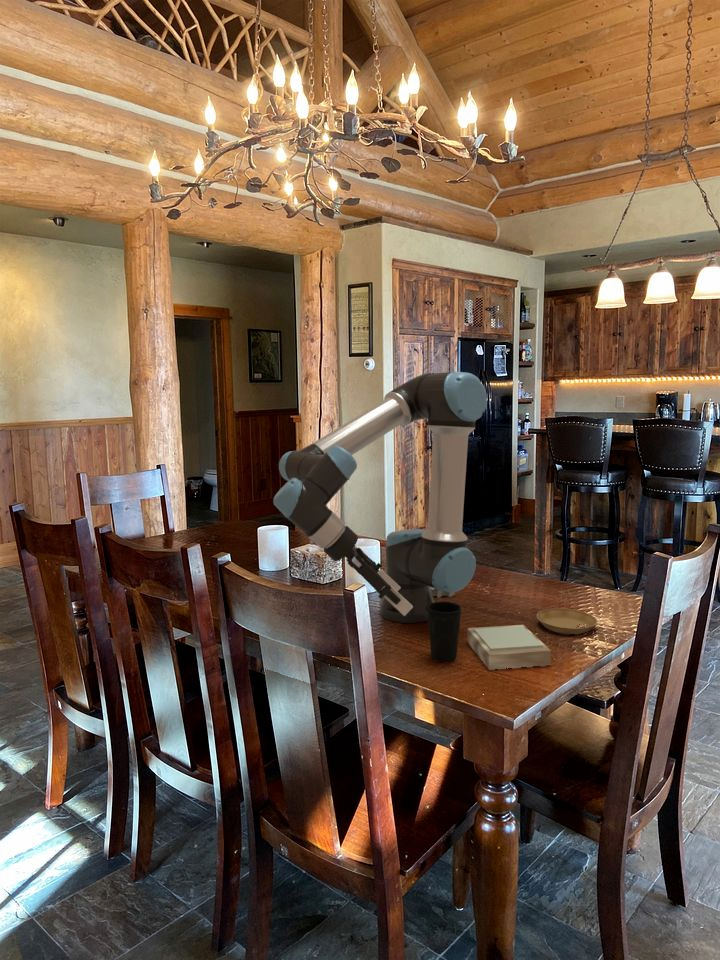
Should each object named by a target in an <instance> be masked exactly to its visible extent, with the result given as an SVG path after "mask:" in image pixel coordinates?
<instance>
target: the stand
mask: <svg viewBox="0 0 720 960" xmlns="http://www.w3.org/2000/svg"><path fill="white" fill-rule="evenodd" d="M466 638H467V641H466V642H467V644H468V645H469V646H470V647H471V649H472V650H473V651H474V652H475V654H476V655H477V657H478V658H479V659H480V661H481V662H482V661H483V662H482V663H483V664H484V666H485V667H486V669H488V670H489V671H496V670H495V669H498V670H509V669H508V668H512V669H522V668H521V667H527V668H534V667H533V666H541V667H544V666H543V665H551V663H552V662H551V661H552V660H551V659H552V650H551V649H550V648H549V647H548V646H547V645H546V644H545V643H544V642H542V641H541V640H540V639H539V638H538V637H537V636H536V635H535V634H534V633H533V632H531V631H530V630H529V629H528V628H527V626H526V625H524V624H516V625H499V626H483V627H468V628H467V637H466ZM506 668H507V669H506Z"/></svg>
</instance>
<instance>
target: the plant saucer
mask: <svg viewBox="0 0 720 960" xmlns="http://www.w3.org/2000/svg"><path fill="white" fill-rule="evenodd" d="M536 618H537V620H538V621H539V622H540V624H541V625H542V626H543V627H545V628H546V629H547V630H548V631H551V632H553V633H557V634H562V635H570V634H575V635H582V634H581V633H583V634H586V633H588V632H589V631H590V630H592V629H593V628H594V627H595V626H596V625H597V624H598V619H597V618H596V617H595V616H594V615H592V614H590V613H588V612H585V611H582V610H577V609H571V608H562V607H561V608H560V607H559V608H556V607H554V608H547V609H542V610H540V611H538V612H537V614H536ZM579 624H580V625H584V624H586V625H587V626H588V627H585V628H576V627H577V625H578V626H580V625H579ZM584 626H585V625H584ZM585 632H586V633H585Z"/></svg>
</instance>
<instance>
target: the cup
mask: <svg viewBox="0 0 720 960" xmlns="http://www.w3.org/2000/svg"><path fill="white" fill-rule="evenodd" d="M427 613H428V620H427V622H428V633H429V634H428V635H429V645H430V655H431V659H432V661H434V660H436V661H439V662H438V663H441V662H449V663H452V661H453V662H455V661H456V660H455V659H457V653H458V646H459V645H458V643H459V634H460V623H461V615H462V607H461V605H459V604H458V603H456V602H455V603H454V602H452V601H451V602H450V601H436V602H435V601H434V603H431V604H429V605H428V606H427ZM454 660H455V661H454ZM436 661H435V662H436Z"/></svg>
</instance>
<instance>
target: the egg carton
mask: <svg viewBox="0 0 720 960" xmlns="http://www.w3.org/2000/svg"><path fill="white" fill-rule="evenodd" d="M429 587H430V590H431V593H432V596H433V597H435V596H437V597H436V598H441V597H449V598H452V597H453V596H456V592H446V591H440V590H437V589H435V588H433V587H431V586H429Z"/></svg>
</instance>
